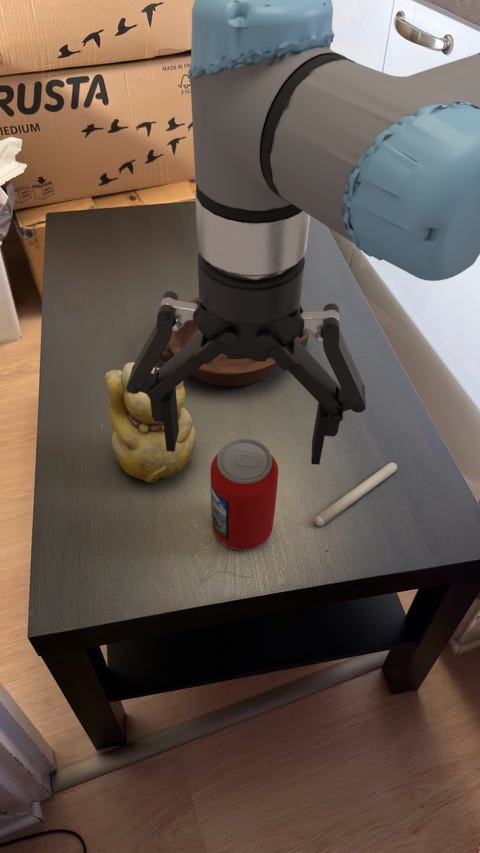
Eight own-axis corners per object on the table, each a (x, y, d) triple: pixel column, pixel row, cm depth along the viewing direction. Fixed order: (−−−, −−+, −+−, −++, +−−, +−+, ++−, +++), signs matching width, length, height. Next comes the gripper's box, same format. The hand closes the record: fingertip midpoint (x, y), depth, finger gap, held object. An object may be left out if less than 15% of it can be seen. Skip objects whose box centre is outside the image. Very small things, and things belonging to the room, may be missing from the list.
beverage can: (217, 498, 72) (215, 429, 63) (275, 506, 71) (282, 436, 62) (207, 549, 67) (204, 482, 58) (269, 557, 66) (276, 491, 58)
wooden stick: (398, 471, 75) (400, 464, 74) (319, 530, 69) (320, 524, 68) (390, 465, 75) (392, 458, 74) (311, 522, 70) (312, 516, 69)
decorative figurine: (191, 433, 78) (185, 341, 67) (203, 484, 73) (199, 394, 62) (114, 445, 77) (95, 352, 66) (120, 498, 71) (100, 408, 60)
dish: (322, 390, 84) (327, 362, 80) (158, 408, 81) (155, 380, 77) (293, 310, 95) (296, 283, 92) (149, 324, 92) (145, 296, 89)
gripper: (427, 234, 45) (374, 428, 61) (88, 210, 46) (123, 407, 62) (439, 297, 40) (378, 491, 56) (59, 268, 41) (104, 466, 57)
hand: (243, 447), depth 59 cm, fingers open, 13 cm apart
